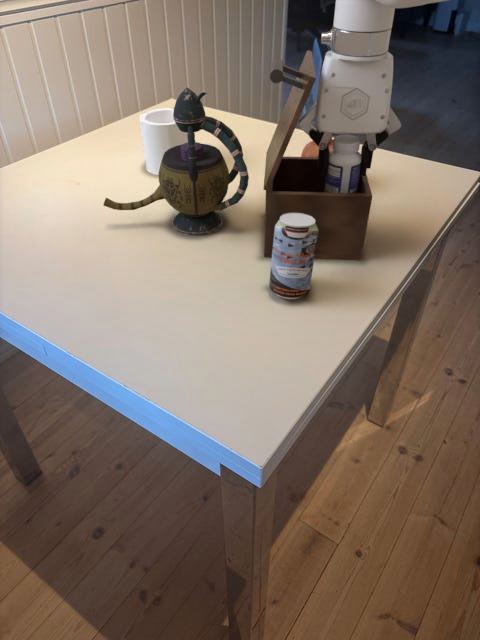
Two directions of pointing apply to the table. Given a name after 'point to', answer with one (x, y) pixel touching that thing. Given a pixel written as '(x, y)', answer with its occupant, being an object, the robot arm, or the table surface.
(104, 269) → the table surface
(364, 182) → the chest
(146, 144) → the mug
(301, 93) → the lid
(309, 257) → the beverage can
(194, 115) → the teapot
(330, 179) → the pill bottle
